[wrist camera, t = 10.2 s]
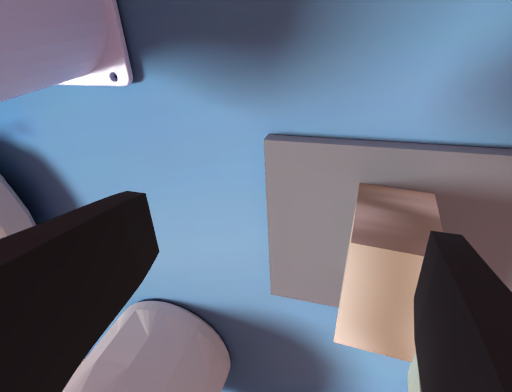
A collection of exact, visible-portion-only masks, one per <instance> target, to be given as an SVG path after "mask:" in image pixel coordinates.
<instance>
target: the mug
mask: <svg viewBox="0 0 512 392" xmlns="http://www.w3.org/2000/svg"><path fill="white" fill-rule="evenodd" d="M230 365H231V364H230V357H229V353H228V351H227V349H226V346H225V344H224V343H223V341H222V339H221V338H220V336H219V335H218V334H217V333H216V332H215V330H214V329H213V328H212V327H211V326H210V325H208V324H207V323H206V322H205V321H204V320H202V319H201V318H199V317H198V316H197V315H195V314H193V313H192V312H190V311H188V310H186V309H184V308H182V307H179V306H177V305H174V304H170V303H167V302H161V301H142V302H137V303H135V304H132V305H131V306H129V307H128V308H127V309H126V310H125V311H124V312H123V313H122V315H121V316H120V317H119V318H118V319H117V320H116V322H115V323H114V324H113V325H112V327H111V328H110V329H109V330H108V331H107V333H106V334H105V335H104V336H103V338H102V339H101V340H100V341H99V343H98V344H97V345H96V346H95V348H94V349H93V350H92V351H91V353H90V354H89V355H88V356H87V358H86V359H85V360H84V362H83V363H82V364H81V365H80V366H79V368H78V369H77V370H76V371H75V373H74V374H73V376H72V377H71V379H70V380H69V382H68V383H67V385H66V387H65V388H64V390H63V391H62V392H221V391H222V388H223V386H224V384H225V382H226V379H227V376H228V373H229V370H230Z"/></svg>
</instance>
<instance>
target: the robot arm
mask: <svg viewBox="0 0 512 392" xmlns="http://www.w3.org/2000/svg"><path fill="white" fill-rule="evenodd" d="M114 73H115V74H116V75H117V77H118V80H117V79H116V78H115V76H114ZM132 81H133V74H132V70H131V65H130V61H129V56H128V52H127V47H126V43H125V38H124V34H123V29H122V25H121V20H120V16H119V11H118V7H117V2H116V0H0V102H2V101H5V100H8V99H11V98H14V97H18V96H21V95H24V94H27V93H30V92H34V91H37V90H40V89H43V88H47V87H50V86H53V85H88V86H127V85H130V84H131V83H132ZM158 253H159V248H158V244H157V240H156V236H155V231H154V227H153V223H152V218H151V214H150V210H149V206H148V201H147V197H146V193H138V192H131V191H125V192H122V193H118V194H115V195H112V196H109V197H106V198H104V199H101V200H98V201H96V202H93V203H91V204H88V205H86V206H83V207H81V208H78V209H76V210H73V211H71V212H68V213H66V214H63V215H61V216H58V217H56V218H53V219H51V220H48V221H46V222H43V223H41V224H38V225H35V226H33V227H30V228H27V229H25V230H22V231H19V232H17V233H14V234H11V235H9V236H6V237H4V238H1V239H0V392H62V391H63V390H64V388H65V387H66V385H67V383H68V382H69V380H70V379H71V377H72V376H73V374H74V372H75V371H76V369H77V367H78V366H79V365H80V363H81V362H82V360H83V359H84V358H85V356H86V355H87V354H88V352H89V351H90V349H91V348H92V347H93V345H94V344H95V343H96V342H97V340H98V339H99V338H100V336H101V335H102V334H103V333H104V331H105V330H106V329H107V327H108V326H109V325H110V324H111V322H112V321H113V320H114V318H115V317H116V316H117V315H118V313H119V312H120V311H121V309H122V308H123V307H124V306H125V304H126V303H127V302H128V300H129V299H130V298H131V296H132V295H133V294H134V292H135V291H136V290H137V288H138V287H139V286H140V284H141V283H142V281H143V280H144V278H145V276H146V275H147V273H148V271H149V270H150V268H151V266H152V264H153V263H154V261H155V259H156V257H157V255H158ZM414 341H415V349H416V356H417V363H418V371H419V378H420V385H421V392H512V292H511V291H510V290H509V288H508V287H507V286H506V285H505V284H504V283H503V282H502V281H501V279H500V278H499V277H498V276H497V275H496V274H495V273H494V271H493V270H492V269H491V268H490V267H489V266H488V265H487V263H486V262H485V261H484V260H483V259H482V258H481V256H480V255H479V254H478V253H477V252H476V250H475V249H474V248H473V247H472V246H471V245H470V243H469V242H468V241H467V240H466V239H465V238H464V237H463V235H460V234H453V233H445V232H437V231H430V235H429V239H428V243H427V247H426V251H425V255H424V259H423V263H422V267H421V271H420V275H419V279H418V283H417V287H416V291H415V295H414Z"/></svg>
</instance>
